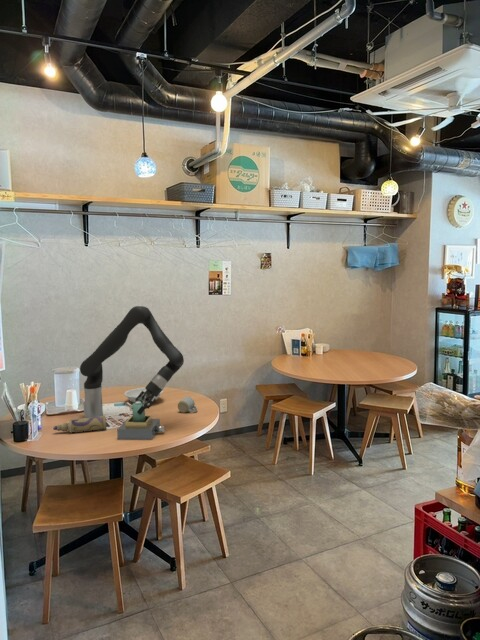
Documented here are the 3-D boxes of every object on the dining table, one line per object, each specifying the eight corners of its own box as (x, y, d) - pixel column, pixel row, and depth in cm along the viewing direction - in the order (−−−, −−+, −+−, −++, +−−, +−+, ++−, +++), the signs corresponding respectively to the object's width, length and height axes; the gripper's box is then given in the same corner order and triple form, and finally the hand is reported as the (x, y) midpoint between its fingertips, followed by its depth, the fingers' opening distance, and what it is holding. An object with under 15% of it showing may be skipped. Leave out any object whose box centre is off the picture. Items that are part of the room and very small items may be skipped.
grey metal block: (117, 439, 225) (116, 424, 224) (127, 428, 241) (127, 414, 240) (160, 439, 224) (159, 424, 223) (167, 428, 239) (167, 414, 239)
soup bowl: (171, 400, 292) (171, 389, 292) (144, 410, 272) (144, 399, 272) (143, 395, 305) (143, 385, 305) (115, 404, 285) (115, 394, 284)
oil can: (142, 420, 236) (141, 398, 235) (147, 424, 231) (146, 400, 230) (126, 424, 231) (124, 401, 230) (130, 427, 226) (128, 404, 225)
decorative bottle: (106, 426, 245) (106, 414, 244) (106, 431, 238) (105, 418, 237) (54, 431, 239) (53, 418, 238) (52, 436, 232) (51, 423, 231)
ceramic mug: (176, 412, 266) (176, 399, 265) (183, 408, 273) (183, 395, 272) (193, 414, 262) (193, 401, 261) (199, 410, 270) (199, 397, 269)
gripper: (146, 378, 240) (125, 404, 235) (157, 383, 228) (135, 410, 223) (156, 386, 243) (135, 412, 238) (167, 392, 231) (146, 419, 226)
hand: (135, 411), depth 230 cm, fingers open, 7 cm apart
